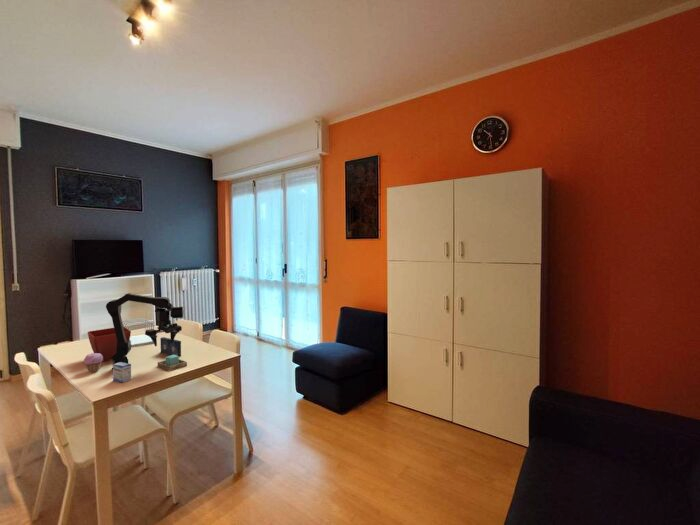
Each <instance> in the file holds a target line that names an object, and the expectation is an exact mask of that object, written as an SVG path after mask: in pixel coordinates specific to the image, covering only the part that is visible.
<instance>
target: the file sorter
mask: <svg viewBox="0 0 700 525" xmlns="http://www.w3.org/2000/svg"><path fill="white" fill-rule="evenodd" d="M122 323H123V327H125V328H127V329H128V330H130V329H129V328H130V327H134V326H141V325H145V326H144V327H145V328H144V330H145V331H146V330H150V329H154V323H152V322H151V321H149V320H148V319H146V318H144V317H138V318H134V319H133V318H131V319H125V320H122ZM154 330H155V329H154ZM130 340H131V345H132V347H131V348H134V347H133V346H135V347H139V345H141V346H145V344H146V345H151V343H152V344H154V343H153V341H152V339H151V338H150V337H149V336H147V335H145V334H140V335H133V336H130Z"/></svg>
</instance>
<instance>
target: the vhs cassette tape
mask: <svg viewBox="0 0 700 525" xmlns="http://www.w3.org/2000/svg"><path fill="white" fill-rule="evenodd" d="M160 353H161V354H164V355H168V356H171V355H177V356H179V357H182V341H181V340H178V339H174V341H173V343H171V337H164V336H163V337H160Z"/></svg>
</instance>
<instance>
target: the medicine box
mask: <svg viewBox="0 0 700 525" xmlns="http://www.w3.org/2000/svg"><path fill="white" fill-rule="evenodd" d="M112 368H113V369H112V380H113V381H114V382H118V383H122V384H123V383H127V382H130V381H131V380H132V364H131V363H129V362H128V363H122V362H119V363H116V364H113V363H112Z"/></svg>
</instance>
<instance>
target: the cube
mask: <svg viewBox="0 0 700 525" xmlns="http://www.w3.org/2000/svg"><path fill="white" fill-rule="evenodd" d="M179 357H180V356H177V355H168V356H165V360H166V365H168V366H173V365H176V364H179Z"/></svg>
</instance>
